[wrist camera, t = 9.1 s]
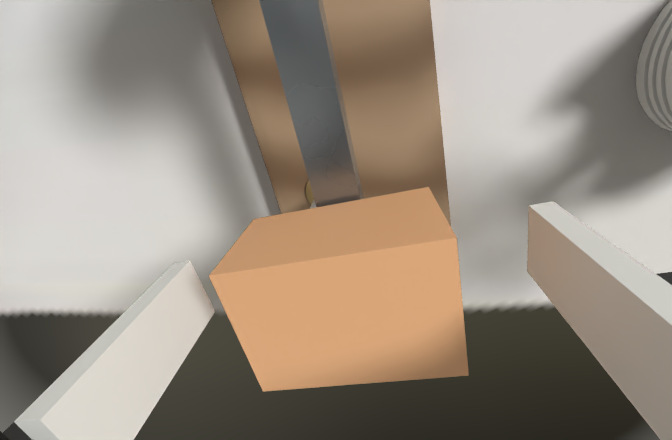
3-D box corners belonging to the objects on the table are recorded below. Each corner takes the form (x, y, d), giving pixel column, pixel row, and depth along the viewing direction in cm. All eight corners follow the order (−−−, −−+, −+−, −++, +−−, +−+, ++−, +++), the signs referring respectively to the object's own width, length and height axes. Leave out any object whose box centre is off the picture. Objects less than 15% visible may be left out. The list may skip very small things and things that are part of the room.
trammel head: (298, 162, 21) (208, 275, 9) (403, 140, 20) (456, 238, 8) (316, 228, 23) (263, 391, 11) (413, 212, 22) (468, 375, 10)
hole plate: (144, -240, 15) (118, -276, 14) (388, -362, 13) (391, -421, 12) (306, 268, 27) (302, 280, 25) (449, 247, 25) (454, 258, 23)
